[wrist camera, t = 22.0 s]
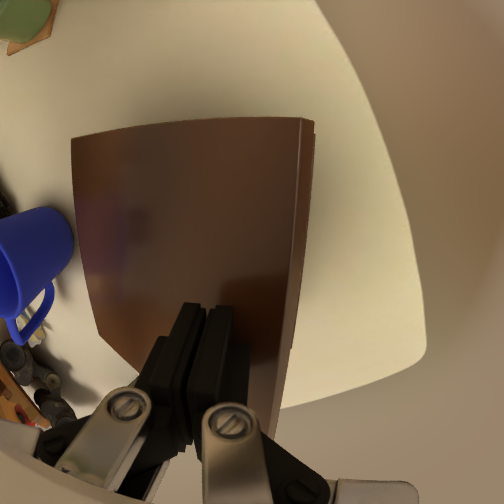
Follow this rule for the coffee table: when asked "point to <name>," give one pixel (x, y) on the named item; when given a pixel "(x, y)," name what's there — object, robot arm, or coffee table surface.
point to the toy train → (3, 207)
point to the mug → (31, 264)
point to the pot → (22, 19)
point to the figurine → (23, 416)
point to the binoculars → (47, 400)
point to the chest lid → (197, 234)
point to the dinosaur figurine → (37, 335)
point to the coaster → (40, 36)
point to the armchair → (17, 400)
